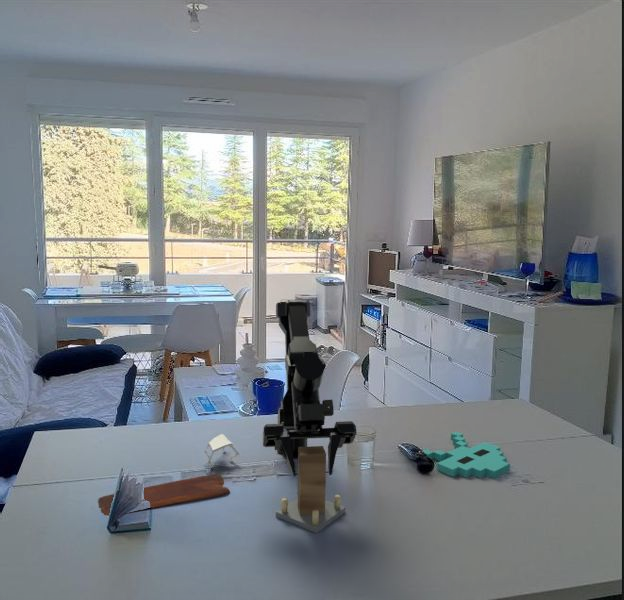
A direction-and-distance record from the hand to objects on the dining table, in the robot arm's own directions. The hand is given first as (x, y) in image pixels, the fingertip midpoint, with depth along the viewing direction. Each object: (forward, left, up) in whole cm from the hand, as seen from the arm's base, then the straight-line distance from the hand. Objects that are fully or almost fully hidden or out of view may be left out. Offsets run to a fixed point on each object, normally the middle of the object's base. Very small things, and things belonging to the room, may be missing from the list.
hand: (312, 475), depth 119 cm
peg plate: (-1, -1, -9) cm, 9 cm away
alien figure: (-45, +14, -10) cm, 48 cm away
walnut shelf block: (-1, -1, -8) cm, 8 cm away
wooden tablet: (+12, -30, -10) cm, 34 cm away
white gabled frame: (-9, -33, -9) cm, 36 cm away
